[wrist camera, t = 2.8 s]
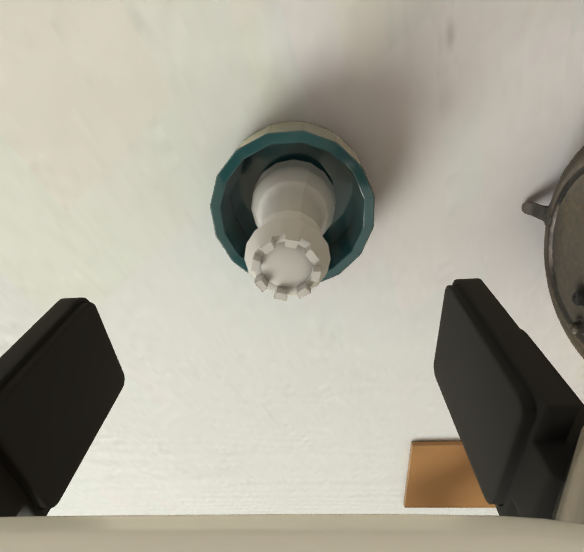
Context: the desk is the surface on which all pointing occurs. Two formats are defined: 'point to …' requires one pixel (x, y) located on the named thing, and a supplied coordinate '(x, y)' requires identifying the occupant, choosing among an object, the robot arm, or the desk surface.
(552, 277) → the alarm clock
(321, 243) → the rook chess piece
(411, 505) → the coaster
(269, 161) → the teal round bowl
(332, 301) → the desk surface
